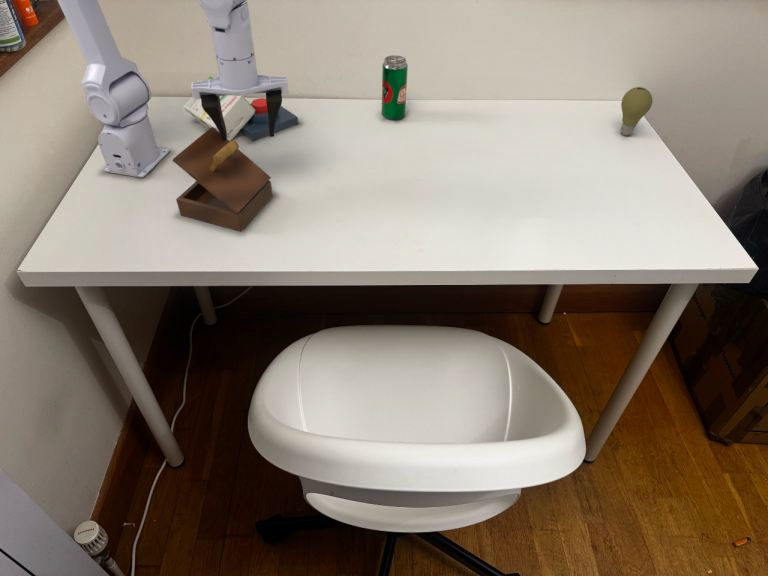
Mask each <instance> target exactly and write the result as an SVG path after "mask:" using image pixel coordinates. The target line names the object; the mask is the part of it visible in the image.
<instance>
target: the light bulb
mask: <svg viewBox="0 0 768 576" xmlns="http://www.w3.org/2000/svg"><path fill="white" fill-rule="evenodd" d="M652 95H653V94H652V93H651V92H650V91H649V89H647V88H646V87H642V86H636V87H632V88H630V89H629V90H627V91H626V92H625V93H624V95H623V96H622V99H621V104H620V108H621V113H622V125H621V127H620V133H622V136H625V137H627V136H630V135H632V134H633V133H634V131H635V127H636V126H637V125H638V124H639V122H640V121H641V119H642V118H644V116H645V115H646V114H647V113H648V112H649V111H650V110H651V108H652V106H653V96H652Z"/></svg>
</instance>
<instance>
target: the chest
mask: <svg viewBox="0 0 768 576" xmlns="http://www.w3.org/2000/svg"><path fill="white" fill-rule="evenodd" d="M272 188H273V187H272V183H271V180H269V181H268V182H267V183H266V184H265V185H264V186H263V187H262V188H261V189H260V190H259V191H258V192H257V193H256V195H255V196H254V197H253V198H252V199H251V200H250V201H249V202H248V203H247V204H246V205H245V206H244V207H243V208H242V209H241V210H240V211H239V212H238V214H235V213H234V212H233V211H232V210H231V209H229V208H228V207H227V206H226V205H225V204H223V203H222V202H221V201H220V200H219V199H217V198H216V197H215V196H214V195H213V194H211V193H210V192H209V191H208V190H207V189H205V188H204V187H203V186H202V185H201V184H199V183H198V182H197V181H196V180H195V181H194V183H193V184H191V185H190V186H189V187H188V188H187V189H185V190H184V191H183V193H181V194H180V195H179V196H177V198H176V199H175V201H176V204H177V208H178V211H179V213H180V214H179V215H180V216H181V217H185V218H190V219H193V220H195V221H199V222H204V223H207V224H211V225H215V226H218V227H222V228H226V229H230V230H233V231H237V232H240V233H241V232H242V231H243V230H244V229H245V228H246V227H247V226H249V224H250V222H251V221H252V220H253V219H254V218H255V217H256V216H257V215H258V214H259V213H260V211H262V209H263V208H264V207H265V206H266V205H267V204H268V203H269V202H270V201H271V200H272V198H273V197H274V196H273V189H272Z"/></svg>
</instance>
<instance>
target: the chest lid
mask: <svg viewBox="0 0 768 576" xmlns="http://www.w3.org/2000/svg"><path fill="white" fill-rule="evenodd" d="M239 148H240V144H239V143H238V141H237V140H235V139H232V140H231V141H229V140H222V137H221V135H220V133H219V132H218V131H217V130H216V129H215V128H214V127H211V128H210V129H207V130H206V131H205V132H204V133H203V134H201V135H200V136H199V137H198V138H196V139H195V140H194V141H193V142H191V143H190V144H189V145H188V146H186V147H185V148H184V149H183V150H182V151H181V152H179V153H178V154H176V155H175V156H174V157H173V158H172V162H173V163H174V164H176V165H177V166H178V167H179V168H180V169H181V170H183V171H184V172H185V173H186V174H188V176H190V177H191V178H192V179H193V180H194V181H195V182H196V181H197V182H198V183H199V184H201V185H202V186H203V187H204V188H205V189H207V190H208V191H209V192H210V193H211V194H213V195H214V196H215V197H216V198H217V199H219V200H220V201H221V202H222V203H223V204H225V205H226V206H227V207H228V208H229V209H231V210H232V211H233V212H234V213H235V214H238V212H239V211H240V210H241V209H242V208H243V207H244V206H245V205H246V204H247V203H248V202H249V201H250V200H251V199H252V198H253V197H254V196H255V195H256V193H257V192H258V191H259V190H260V189H261V188H262V187H263V186H264V185H265V184H266V183H267V182H268V181H271V178H272V177H271V176H270V175H269V174H268V173H267V172H266V171H264V170H263V169H262V168H261V167H260V166H259V165H258V164H256V163H255V162H254V161H253V160H252V159H250V158H249V157H248V156H247V155H246V154H245V153H244V152H243V151H241V150H240V149H239Z"/></svg>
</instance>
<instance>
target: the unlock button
mask: <svg viewBox="0 0 768 576" xmlns="http://www.w3.org/2000/svg"><path fill="white" fill-rule="evenodd" d="M251 103H252V107H253V108H254V109H255V112H254V113H259V114H260V113H267V112H268V110H267V103H266V97H261V98H260V97H259V98H256V99H253V100H252V101H251Z"/></svg>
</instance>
